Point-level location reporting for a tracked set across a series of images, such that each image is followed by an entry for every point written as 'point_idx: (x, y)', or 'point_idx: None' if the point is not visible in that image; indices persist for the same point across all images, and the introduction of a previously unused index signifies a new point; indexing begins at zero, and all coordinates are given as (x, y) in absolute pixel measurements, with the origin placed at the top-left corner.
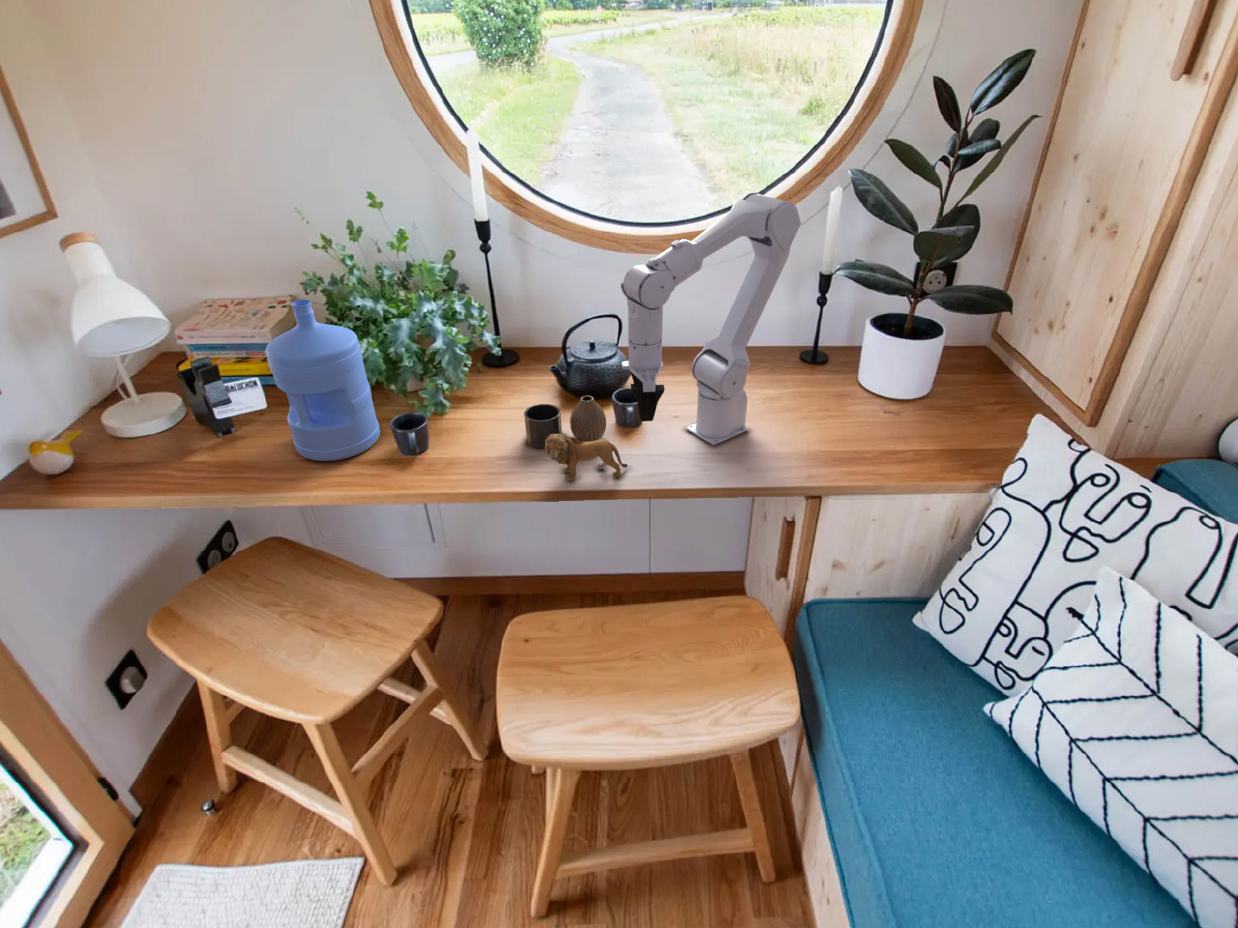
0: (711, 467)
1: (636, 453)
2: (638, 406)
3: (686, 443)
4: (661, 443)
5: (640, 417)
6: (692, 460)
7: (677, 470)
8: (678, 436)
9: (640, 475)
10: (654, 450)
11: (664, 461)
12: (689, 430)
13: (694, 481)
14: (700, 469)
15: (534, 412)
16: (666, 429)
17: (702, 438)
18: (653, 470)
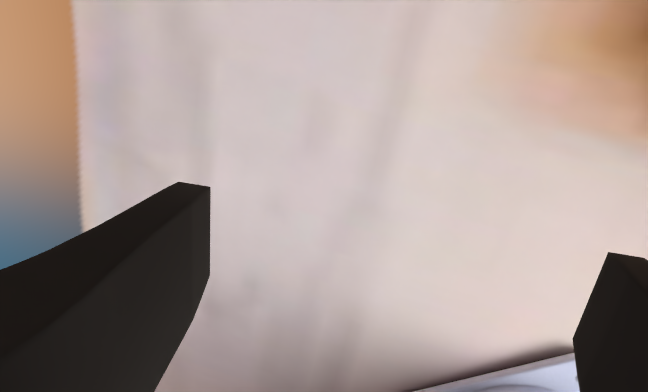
0: (230, 333)
1: (429, 45)
2: (36, 255)
3: (452, 309)
4: (493, 205)
5: (155, 195)
6: (297, 286)
7: (222, 204)
8: (533, 298)
9: (194, 14)
10: (432, 152)
11: (311, 170)
12: (555, 359)
13: None
14: (219, 292)
15: None
16: None
17: (461, 381)
18: (235, 95)
